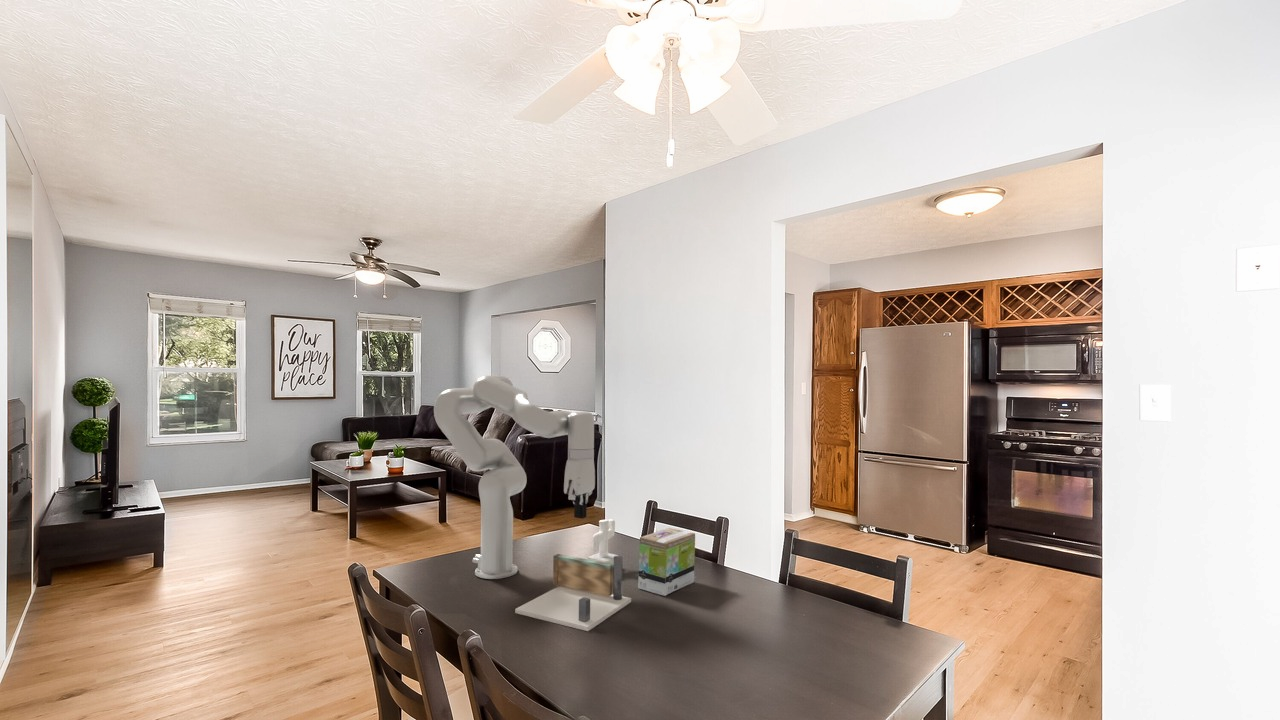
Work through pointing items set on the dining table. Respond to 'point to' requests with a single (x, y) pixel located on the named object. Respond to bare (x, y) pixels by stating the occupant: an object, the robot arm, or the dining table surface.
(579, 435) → the robot arm
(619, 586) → the hinge post
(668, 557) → the tea box
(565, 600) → the board
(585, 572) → the gate
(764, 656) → the dining table surface
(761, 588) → the dining table surface
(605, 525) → the figurine
